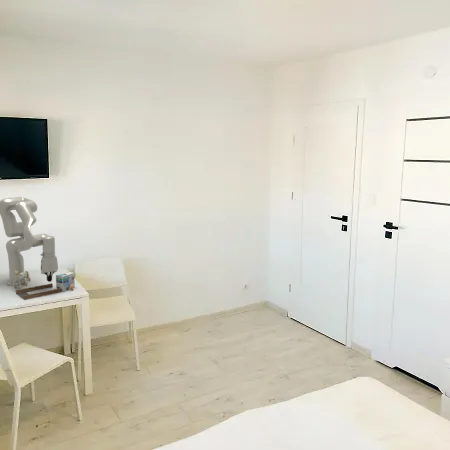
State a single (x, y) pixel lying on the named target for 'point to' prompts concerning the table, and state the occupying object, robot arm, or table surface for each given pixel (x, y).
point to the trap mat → (22, 295)
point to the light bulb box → (65, 281)
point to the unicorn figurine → (21, 276)
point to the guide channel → (39, 292)
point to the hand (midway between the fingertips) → (49, 281)
